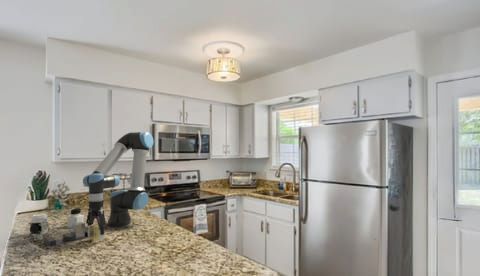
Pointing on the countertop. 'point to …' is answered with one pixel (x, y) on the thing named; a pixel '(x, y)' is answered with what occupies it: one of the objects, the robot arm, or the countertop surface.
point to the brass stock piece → (94, 233)
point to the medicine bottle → (74, 217)
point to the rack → (63, 239)
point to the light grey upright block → (78, 229)
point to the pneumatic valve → (38, 228)
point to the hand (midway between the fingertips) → (95, 238)
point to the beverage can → (40, 216)
